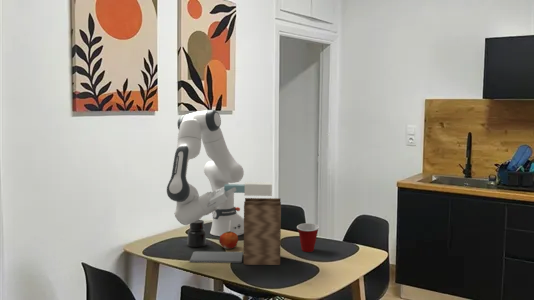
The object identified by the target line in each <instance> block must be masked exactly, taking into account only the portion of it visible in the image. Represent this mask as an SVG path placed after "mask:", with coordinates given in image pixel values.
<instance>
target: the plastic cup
mask: <svg viewBox="0 0 534 300" xmlns="http://www.w3.org/2000/svg"><path fill="white" fill-rule="evenodd" d="M296 229H297V231H298V235H299V243H300V247H301V251H302V252H304V253H305V252H306V253H312V252H314V250H315V245H316V243H317V236H318V231H319V229H320V226H319V224H317V223H316V224H315V223H311V222H310V223H309V222H308V223H300V224H298V225H297V226H296Z"/></svg>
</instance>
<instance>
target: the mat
mask: <svg viewBox="0 0 534 300" xmlns="http://www.w3.org/2000/svg"><path fill="white" fill-rule="evenodd" d="M243 258H244V251H197V250H196V251H193V252H192V254H191V257H190V259H189V263H221V264H222V263H228V264H229V263H231V264H232V263H237V264H240V263H241V264H242V262H243Z"/></svg>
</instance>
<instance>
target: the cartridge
mask: <svg viewBox="0 0 534 300" xmlns="http://www.w3.org/2000/svg"><path fill="white" fill-rule="evenodd" d="M233 187H236V189H237V190H236V191H235V192H233V193H234V194H235V193H236V194H244V196H246V197H248V196H254V197H255V196H256V197H257V196H258V197H259V196H261V197H266V196H267V197H272V195H273V182H272V181H245V182H244V184H237V183H228V184H225V185H224V190H225V192H226V191H228V190H230V189H232V188H233Z"/></svg>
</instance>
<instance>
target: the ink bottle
mask: <svg viewBox="0 0 534 300" xmlns="http://www.w3.org/2000/svg"><path fill="white" fill-rule="evenodd" d="M204 224H205V222H204V220H203V219H199V220H197V221H195V222H193V223H191V224H189V230H188V231H187V246H188V247H190V248H191V247H192V248H202V247H205V246H206V245H207V232H206V230H205V225H204Z"/></svg>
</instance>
